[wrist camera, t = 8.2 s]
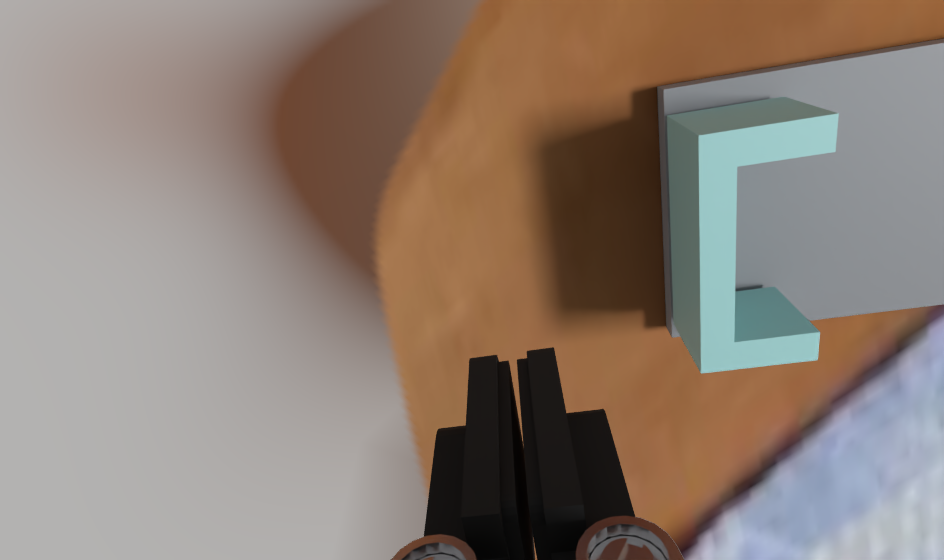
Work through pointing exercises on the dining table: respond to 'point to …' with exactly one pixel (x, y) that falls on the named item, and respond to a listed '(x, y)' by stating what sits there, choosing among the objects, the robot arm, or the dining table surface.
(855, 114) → the rail
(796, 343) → the cap
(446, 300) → the dining table surface
